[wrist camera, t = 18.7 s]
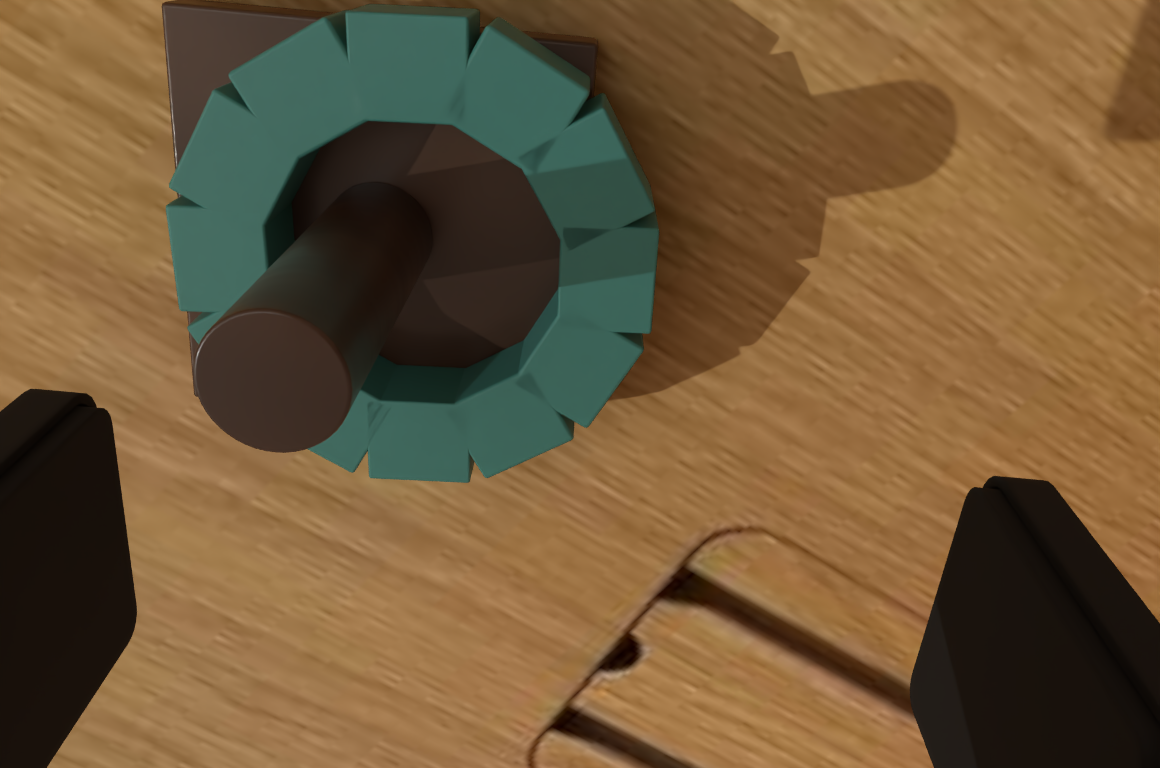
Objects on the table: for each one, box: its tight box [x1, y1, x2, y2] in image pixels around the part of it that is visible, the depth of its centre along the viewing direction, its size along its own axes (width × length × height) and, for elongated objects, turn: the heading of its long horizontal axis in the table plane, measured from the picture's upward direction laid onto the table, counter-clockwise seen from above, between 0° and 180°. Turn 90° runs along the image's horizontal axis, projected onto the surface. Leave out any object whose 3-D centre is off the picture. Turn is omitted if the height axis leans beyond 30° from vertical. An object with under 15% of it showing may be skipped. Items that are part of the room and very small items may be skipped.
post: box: [162, 0, 598, 453], centre depth 19 cm, size 9×9×9 cm
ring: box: [166, 4, 659, 483], centre depth 21 cm, size 10×10×2 cm
